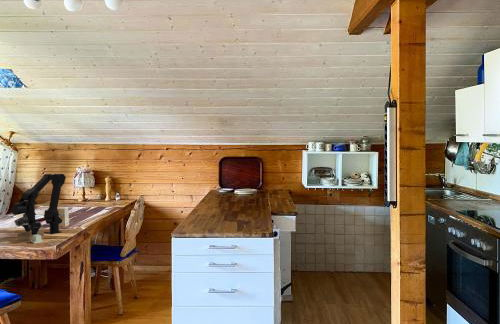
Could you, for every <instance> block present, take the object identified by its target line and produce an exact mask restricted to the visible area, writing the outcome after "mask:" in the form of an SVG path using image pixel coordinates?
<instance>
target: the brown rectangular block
mask: <svg viewBox="0 0 500 324" xmlns="http://www.w3.org/2000/svg"><path fill="white" fill-rule="evenodd" d="M37 234H38V235H41V239H45V230H44V229H39V230H38V232H37ZM16 235H17V236H16V238H17V242H18V241H19V242H18V243H22V242H23V243H24V242H27V241H31V240H33V237H32V232H31V231H29V232H25V231H24V232H17V234H16Z"/></svg>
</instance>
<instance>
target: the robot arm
mask: <svg viewBox="0 0 500 324" xmlns="http://www.w3.org/2000/svg"><path fill="white" fill-rule="evenodd" d="M66 176H67V175H65V173H53V174H52V173H44V174H43V176H42V177H41V178H40V179H39V180H38V181H37V182H36V184H34V185H33V186H32V187H31V188H28V189H26V191H24V192H23V193H22V194H21V197H20V198H19V200H18V202H17V203H13V206H12V207H11V209H10V210H11V211H10V212H11V214H12V215H14V216H19V215H22V216H21V217H18V218H16V219H15V220H14V224H15V226H17V227H20V226H21V227H22V228H24V232H29V231H31V232H32V237H33V235H37V232H38V230H40V228H41V227H42V223H41V222H40V221H37V219H36V216H37V213H36V205H37V204H38V202H37V201H36V199H37V198H38V197H39V193H40V192H41V191H42V189H44V188H45V187H46V186H47V185H48V184H49V183H50V182H51V184H52V191H51V195H50V200H49V205H48V208H47V209H45V210H44V214H43V219H44V221H45V223H46V224H48V225H49V231H47V233H48V234H50V235H54V234H60V233H62V231H61V230H60V227H59V224H60V223H62V219H61V218H60V217H59V212H58V210H57V208H58V207H59V206H58V204H59V199H60V196H61V195H60V194H61V189H62V187H63V186H64V184H65V183H66V179H67V177H66Z"/></svg>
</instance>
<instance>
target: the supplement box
mask: <svg viewBox="0 0 500 324" xmlns="http://www.w3.org/2000/svg"><path fill="white" fill-rule="evenodd" d="M57 210H58V212H59V217H60V218H61V219H62V223H60V224H59V228H60V227H64V228H66V227H69V225H70V217H69V216H70V215H69V214H70V213H69V207H59V206H58V207H57Z"/></svg>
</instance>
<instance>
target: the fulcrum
mask: <svg viewBox="0 0 500 324" xmlns="http://www.w3.org/2000/svg"><path fill="white" fill-rule="evenodd" d="M30 242H31V243H33V244H38V243H43V242H44V240H43V239H42V238H41V235H38V234H37V235H33V240H30Z"/></svg>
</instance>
